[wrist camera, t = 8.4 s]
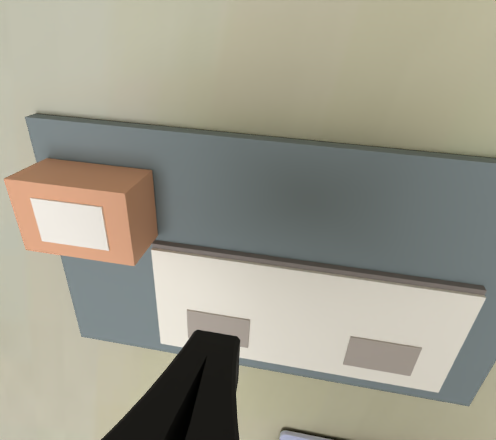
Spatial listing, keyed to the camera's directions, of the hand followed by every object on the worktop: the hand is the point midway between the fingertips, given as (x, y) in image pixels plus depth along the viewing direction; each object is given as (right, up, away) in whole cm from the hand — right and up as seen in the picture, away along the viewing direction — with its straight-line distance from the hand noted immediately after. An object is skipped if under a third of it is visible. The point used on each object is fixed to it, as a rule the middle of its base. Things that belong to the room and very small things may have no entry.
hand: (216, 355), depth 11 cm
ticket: (+4, -1, +11) cm, 12 cm away
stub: (-7, +6, +10) cm, 13 cm away
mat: (+2, +1, +10) cm, 11 cm away
